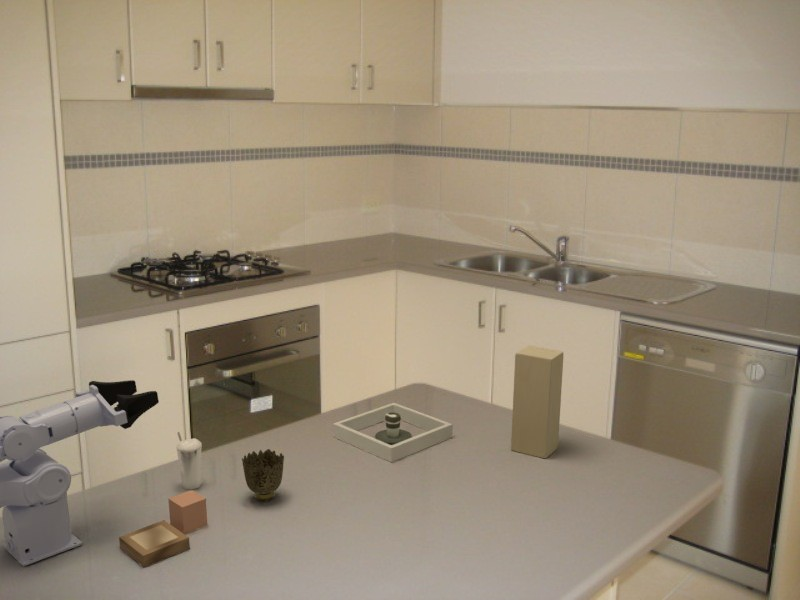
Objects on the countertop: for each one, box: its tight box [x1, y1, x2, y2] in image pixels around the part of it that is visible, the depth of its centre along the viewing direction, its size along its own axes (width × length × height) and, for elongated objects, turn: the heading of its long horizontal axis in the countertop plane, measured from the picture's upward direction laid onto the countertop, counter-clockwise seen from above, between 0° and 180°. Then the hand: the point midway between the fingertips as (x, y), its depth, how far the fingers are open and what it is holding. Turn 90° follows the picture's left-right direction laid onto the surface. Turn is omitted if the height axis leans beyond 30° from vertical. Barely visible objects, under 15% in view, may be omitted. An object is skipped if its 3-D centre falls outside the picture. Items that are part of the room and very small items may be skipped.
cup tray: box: [332, 402, 454, 463], centre depth 181 cm, size 18×18×3 cm
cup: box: [241, 448, 285, 502], centre depth 153 cm, size 8×7×8 cm
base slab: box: [118, 520, 191, 568], centre depth 137 cm, size 8×8×2 cm
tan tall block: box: [510, 345, 564, 459], centre depth 173 cm, size 8×7×21 cm
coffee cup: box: [374, 413, 412, 444], centre depth 181 cm, size 12×12×5 cm
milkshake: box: [176, 431, 203, 491], centre depth 158 cm, size 4×5×10 cm
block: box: [168, 489, 208, 535], centre depth 144 cm, size 4×4×5 cm
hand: (145, 391), depth 146 cm, fingers open, 7 cm apart
